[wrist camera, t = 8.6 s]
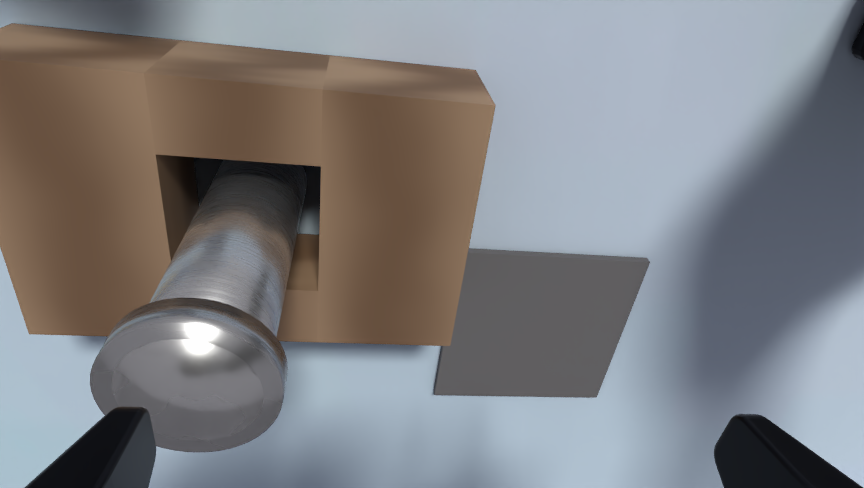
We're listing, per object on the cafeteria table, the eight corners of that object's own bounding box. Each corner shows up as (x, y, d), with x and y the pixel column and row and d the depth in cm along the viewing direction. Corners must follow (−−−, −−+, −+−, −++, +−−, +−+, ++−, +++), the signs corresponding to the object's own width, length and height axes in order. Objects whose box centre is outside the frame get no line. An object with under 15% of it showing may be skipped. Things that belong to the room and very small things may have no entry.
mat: (647, 258, 24) (650, 262, 23) (594, 392, 28) (596, 397, 28) (458, 248, 23) (460, 251, 22) (433, 390, 27) (434, 394, 27)
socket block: (475, 70, 19) (495, 105, 16) (440, 287, 24) (450, 346, 21) (12, 23, 17) (-64, 54, 14) (75, 272, 21) (29, 334, 19)
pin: (319, 133, 19) (281, 326, 11) (317, 228, 21) (284, 452, 13) (203, 124, 19) (72, 319, 11) (212, 222, 21) (107, 452, 13)
